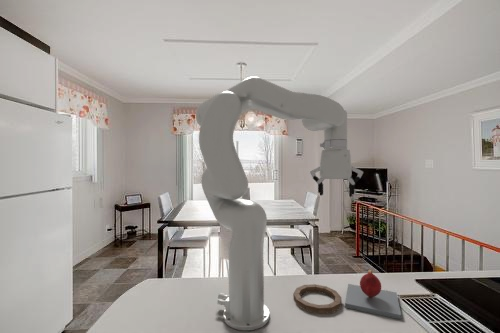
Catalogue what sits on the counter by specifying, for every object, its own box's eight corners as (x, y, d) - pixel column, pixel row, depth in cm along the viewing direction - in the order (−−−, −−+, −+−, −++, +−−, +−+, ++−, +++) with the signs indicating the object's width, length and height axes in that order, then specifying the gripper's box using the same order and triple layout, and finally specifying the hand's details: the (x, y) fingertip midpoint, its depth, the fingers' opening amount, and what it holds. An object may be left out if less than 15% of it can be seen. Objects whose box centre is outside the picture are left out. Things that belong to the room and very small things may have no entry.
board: (345, 307, 73) (345, 303, 73) (348, 287, 85) (348, 283, 85) (401, 319, 67) (401, 315, 67) (396, 296, 79) (396, 292, 79)
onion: (384, 303, 73) (383, 275, 73) (362, 301, 74) (362, 274, 74) (378, 293, 79) (377, 267, 79) (358, 291, 80) (358, 266, 80)
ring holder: (288, 306, 74) (288, 301, 74) (300, 286, 86) (300, 281, 86) (338, 318, 68) (338, 312, 68) (342, 294, 80) (342, 289, 80)
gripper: (308, 146, 88) (308, 195, 88) (362, 144, 81) (363, 198, 81) (312, 147, 95) (312, 193, 95) (363, 145, 87) (363, 195, 88)
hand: (335, 195), depth 88 cm, fingers open, 9 cm apart
